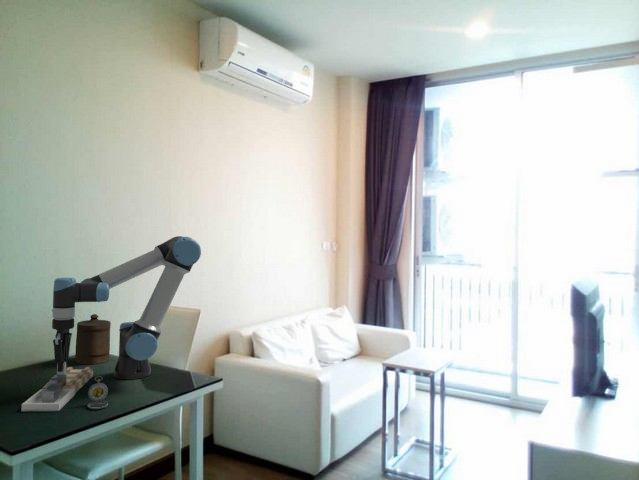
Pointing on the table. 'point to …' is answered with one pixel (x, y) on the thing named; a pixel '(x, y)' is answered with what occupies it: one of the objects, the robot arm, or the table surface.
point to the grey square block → (56, 383)
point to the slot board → (76, 378)
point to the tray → (37, 405)
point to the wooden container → (93, 341)
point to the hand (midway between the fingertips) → (61, 379)
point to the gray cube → (61, 378)
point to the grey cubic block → (50, 394)
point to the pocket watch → (98, 394)
